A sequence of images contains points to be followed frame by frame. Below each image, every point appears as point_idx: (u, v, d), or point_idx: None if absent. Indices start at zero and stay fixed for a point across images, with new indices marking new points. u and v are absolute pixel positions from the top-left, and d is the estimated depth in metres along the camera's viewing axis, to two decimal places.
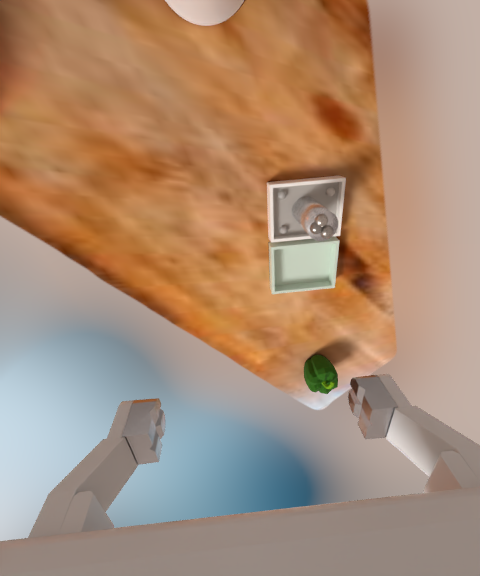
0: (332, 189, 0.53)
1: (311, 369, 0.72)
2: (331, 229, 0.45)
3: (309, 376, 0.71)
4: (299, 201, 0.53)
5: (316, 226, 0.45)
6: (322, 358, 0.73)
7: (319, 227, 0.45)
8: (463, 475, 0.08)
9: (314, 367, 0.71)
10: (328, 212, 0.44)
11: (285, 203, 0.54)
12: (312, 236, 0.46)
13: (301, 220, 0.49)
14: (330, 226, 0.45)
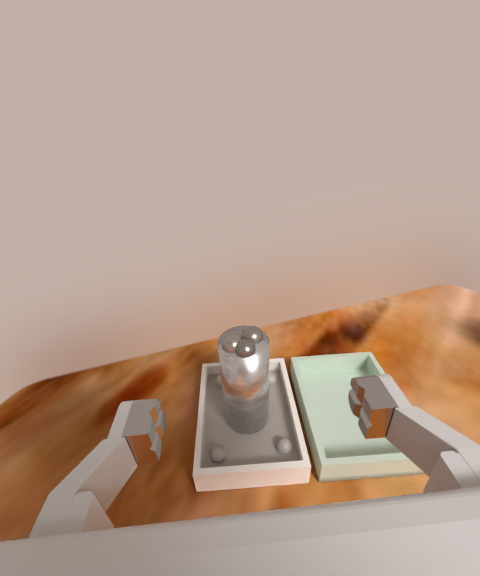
0: (217, 378, 0.37)
1: None
2: (246, 328, 0.28)
3: None
4: (228, 417, 0.31)
5: (239, 344, 0.26)
6: None
7: (241, 340, 0.26)
8: (463, 475, 0.08)
9: None
10: (220, 338, 0.28)
11: (234, 447, 0.30)
12: (260, 352, 0.26)
13: (245, 390, 0.27)
14: (242, 331, 0.28)
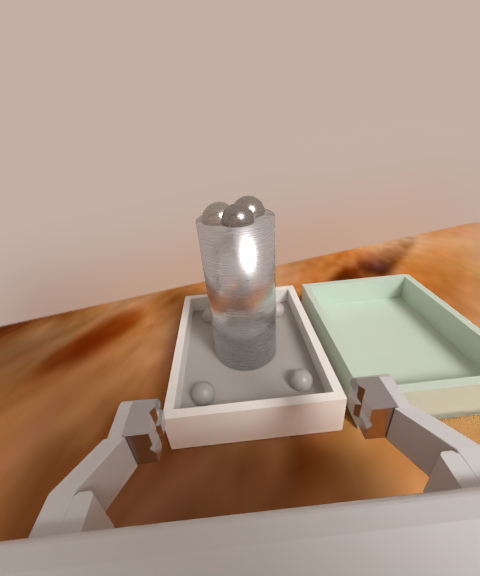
0: (204, 311, 0.27)
1: None
2: None
3: None
4: (219, 347, 0.21)
5: (228, 209, 0.16)
6: None
7: (230, 205, 0.17)
8: (463, 475, 0.08)
9: None
10: (201, 217, 0.19)
11: (229, 386, 0.20)
12: (262, 222, 0.17)
13: (240, 289, 0.18)
14: None
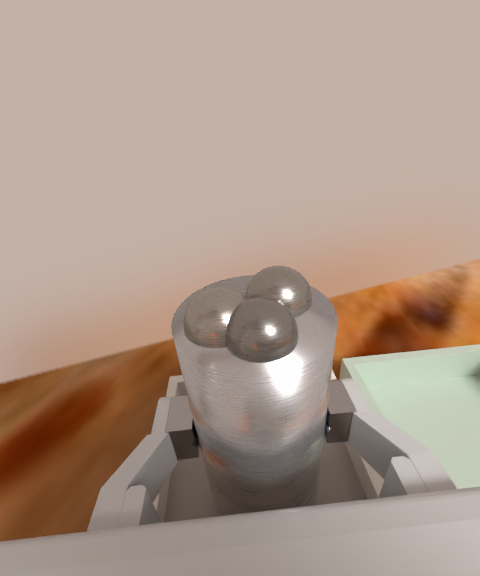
0: None
1: None
2: (259, 273, 0.09)
3: None
4: (219, 515, 0.12)
5: (241, 315, 0.07)
6: None
7: (246, 301, 0.07)
8: (410, 481, 0.08)
9: None
10: (185, 306, 0.09)
11: None
12: (317, 341, 0.07)
13: (264, 465, 0.09)
14: None
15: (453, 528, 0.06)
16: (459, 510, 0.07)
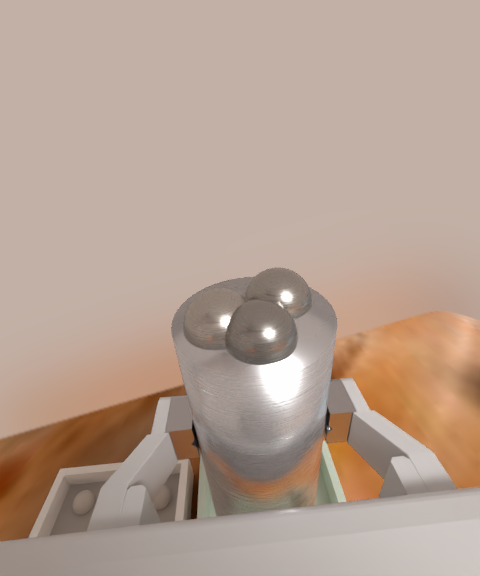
0: (75, 497, 0.23)
1: None
2: None
3: None
4: (219, 515, 0.12)
5: (240, 317, 0.07)
6: None
7: (246, 304, 0.07)
8: (410, 481, 0.08)
9: None
10: (184, 308, 0.09)
11: None
12: (316, 344, 0.07)
13: (263, 466, 0.09)
14: None
15: (453, 528, 0.06)
16: (459, 510, 0.07)
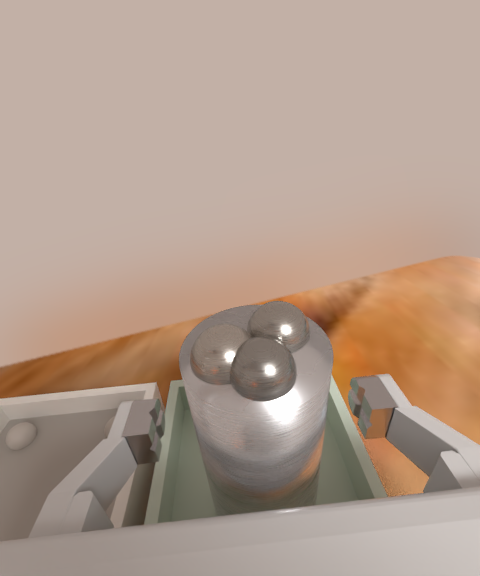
0: None
1: None
2: (260, 307, 0.10)
3: None
4: None
5: (244, 356, 0.08)
6: None
7: (248, 342, 0.08)
8: (463, 475, 0.08)
9: None
10: (190, 339, 0.10)
11: None
12: (314, 379, 0.08)
13: (265, 489, 0.09)
14: None
15: (453, 528, 0.06)
16: (459, 510, 0.07)
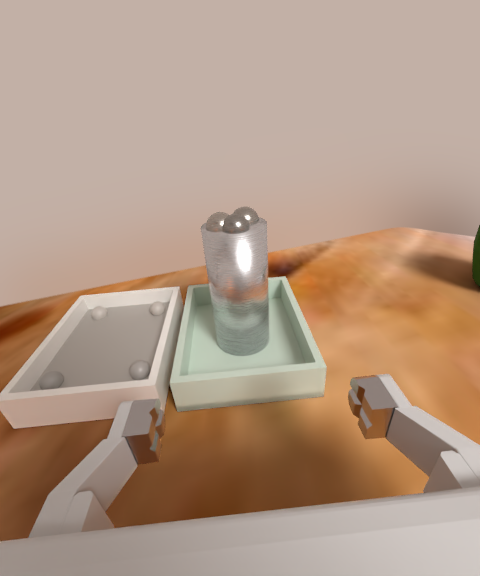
0: (93, 309, 0.30)
1: None
2: None
3: None
4: (219, 336, 0.25)
5: (228, 218, 0.20)
6: (475, 266, 0.32)
7: (230, 215, 0.20)
8: (463, 475, 0.08)
9: None
10: (205, 224, 0.22)
11: (79, 375, 0.23)
12: (256, 229, 0.20)
13: (238, 285, 0.21)
14: None
15: (453, 528, 0.06)
16: (459, 510, 0.07)
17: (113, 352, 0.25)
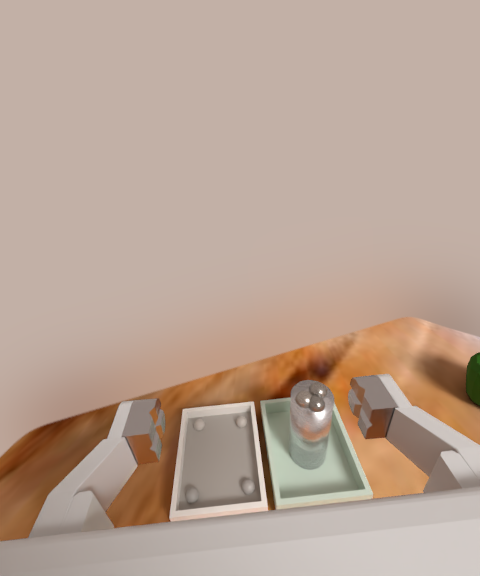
0: (195, 422, 0.42)
1: None
2: (312, 384, 0.34)
3: None
4: (294, 456, 0.37)
5: (312, 401, 0.32)
6: (468, 386, 0.44)
7: (313, 397, 0.32)
8: (463, 475, 0.08)
9: None
10: (292, 393, 0.34)
11: (207, 488, 0.35)
12: (329, 406, 0.32)
13: (315, 436, 0.33)
14: (309, 387, 0.34)
15: (453, 528, 0.06)
16: (459, 510, 0.07)
17: (222, 466, 0.37)
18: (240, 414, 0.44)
